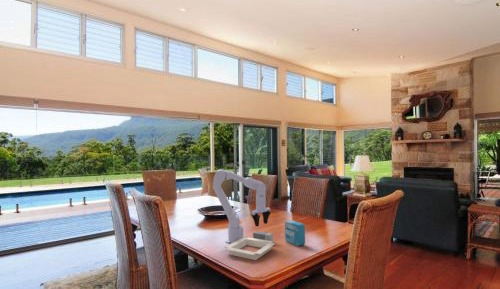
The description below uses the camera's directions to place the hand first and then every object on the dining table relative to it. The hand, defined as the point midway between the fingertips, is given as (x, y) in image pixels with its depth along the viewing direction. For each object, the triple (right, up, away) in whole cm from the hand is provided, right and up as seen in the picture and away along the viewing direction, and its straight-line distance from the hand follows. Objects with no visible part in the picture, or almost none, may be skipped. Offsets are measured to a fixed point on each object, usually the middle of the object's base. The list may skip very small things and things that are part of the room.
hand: (261, 224), depth 173 cm
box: (+1, -9, -2) cm, 10 cm away
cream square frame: (-7, -9, -18) cm, 22 cm away
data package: (+19, -9, -6) cm, 22 cm away
